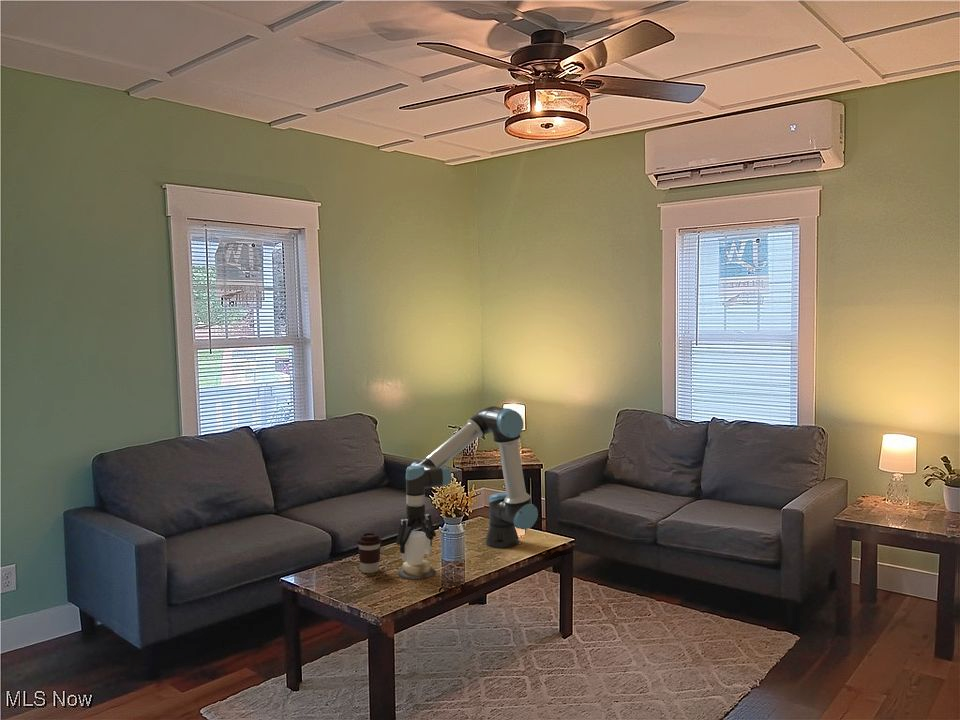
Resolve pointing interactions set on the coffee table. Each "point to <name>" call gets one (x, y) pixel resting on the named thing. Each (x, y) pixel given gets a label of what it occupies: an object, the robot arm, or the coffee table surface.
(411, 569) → the pedestal
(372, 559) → the coffee cup
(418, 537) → the cup
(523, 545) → the coffee table surface
